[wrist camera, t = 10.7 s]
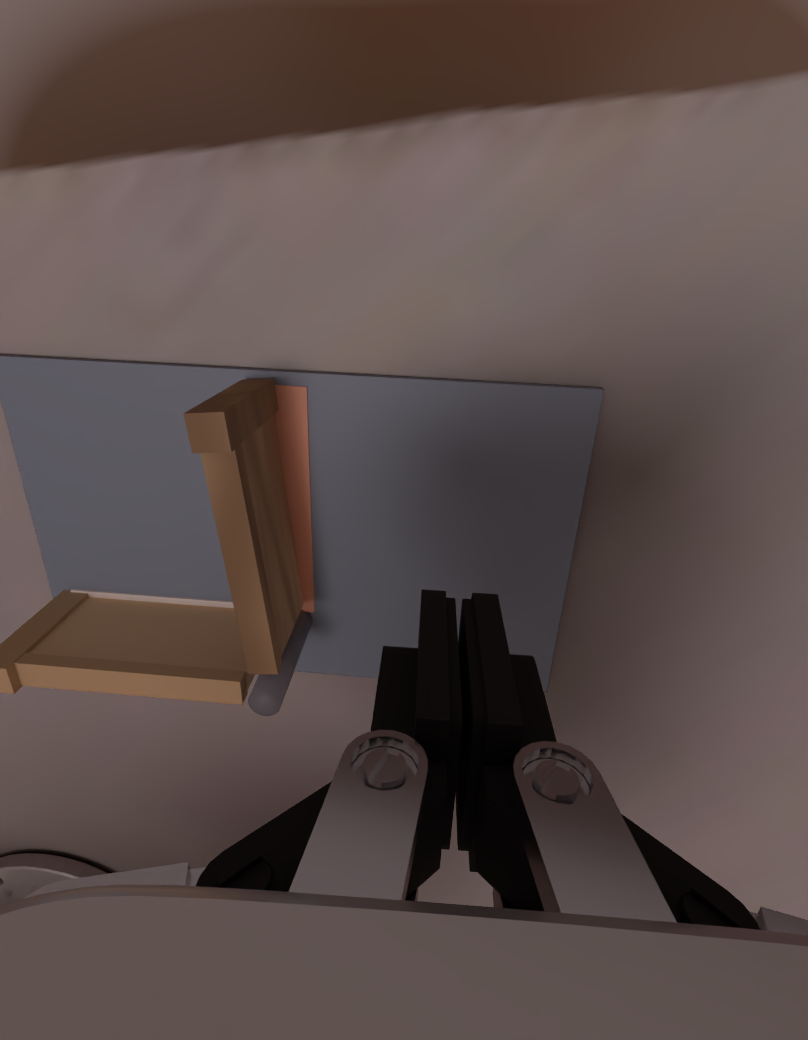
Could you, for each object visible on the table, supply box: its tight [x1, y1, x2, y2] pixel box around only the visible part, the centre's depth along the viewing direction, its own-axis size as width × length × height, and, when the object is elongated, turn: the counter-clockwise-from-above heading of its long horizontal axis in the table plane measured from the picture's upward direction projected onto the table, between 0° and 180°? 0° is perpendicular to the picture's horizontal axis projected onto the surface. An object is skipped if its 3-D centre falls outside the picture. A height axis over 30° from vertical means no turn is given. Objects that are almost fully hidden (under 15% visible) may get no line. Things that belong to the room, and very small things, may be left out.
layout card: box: [0, 354, 604, 716], centre depth 21 cm, size 14×23×6 cm, turn 88°
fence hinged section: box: [183, 378, 303, 674], centre depth 20 cm, size 1×10×5 cm, turn 3°
